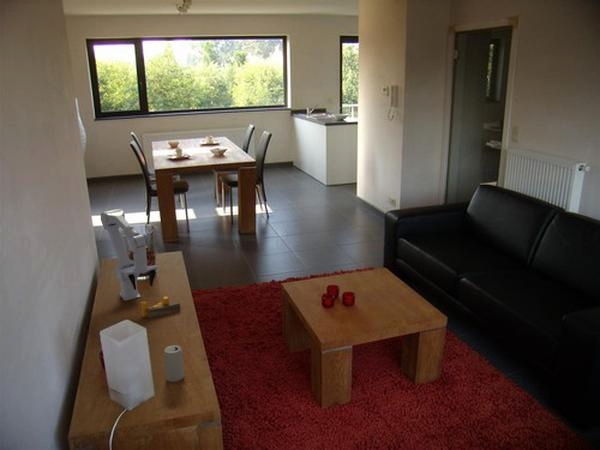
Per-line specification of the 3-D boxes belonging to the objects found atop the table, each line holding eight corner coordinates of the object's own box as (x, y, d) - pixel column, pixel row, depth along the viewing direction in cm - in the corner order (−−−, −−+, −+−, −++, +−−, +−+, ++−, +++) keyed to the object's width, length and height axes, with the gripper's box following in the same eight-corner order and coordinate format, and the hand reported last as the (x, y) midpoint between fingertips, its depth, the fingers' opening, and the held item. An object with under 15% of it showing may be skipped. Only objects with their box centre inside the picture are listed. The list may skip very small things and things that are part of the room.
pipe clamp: (166, 307, 237) (165, 294, 235) (169, 310, 234) (168, 298, 232) (141, 313, 231) (139, 300, 229) (143, 317, 227) (142, 304, 225)
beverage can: (185, 381, 179) (182, 351, 176) (166, 384, 177) (163, 354, 174) (183, 371, 185) (181, 343, 182) (165, 374, 183) (163, 345, 180)
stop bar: (146, 316, 228) (145, 309, 227) (178, 308, 236) (178, 301, 235) (148, 318, 226) (147, 311, 225) (180, 310, 234) (179, 303, 233)
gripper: (126, 265, 225) (129, 293, 229) (158, 259, 233) (160, 286, 237) (122, 261, 231) (125, 288, 235) (153, 255, 238) (156, 281, 242)
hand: (143, 287), depth 236 cm, fingers open, 7 cm apart
